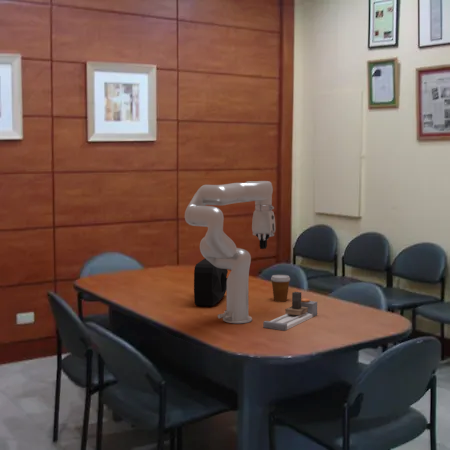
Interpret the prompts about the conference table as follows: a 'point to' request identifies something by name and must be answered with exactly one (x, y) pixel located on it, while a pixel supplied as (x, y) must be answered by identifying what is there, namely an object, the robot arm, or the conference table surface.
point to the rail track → (292, 318)
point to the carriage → (296, 305)
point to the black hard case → (209, 283)
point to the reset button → (305, 300)
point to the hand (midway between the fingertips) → (263, 248)
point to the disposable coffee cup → (280, 287)
